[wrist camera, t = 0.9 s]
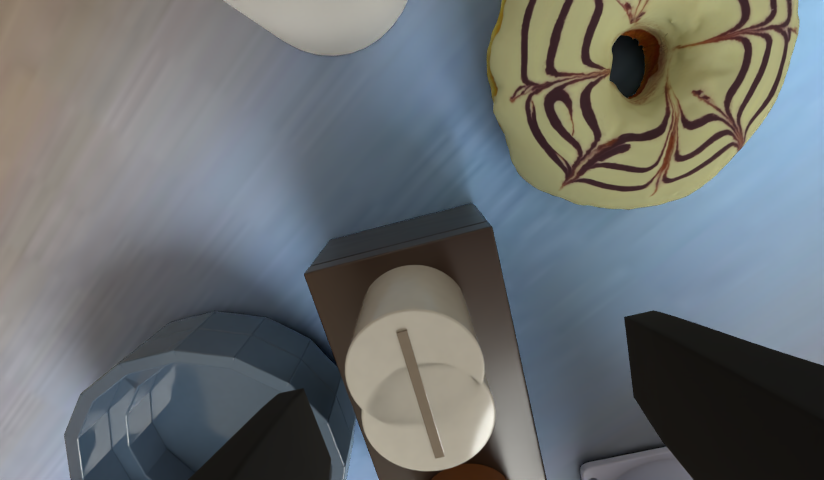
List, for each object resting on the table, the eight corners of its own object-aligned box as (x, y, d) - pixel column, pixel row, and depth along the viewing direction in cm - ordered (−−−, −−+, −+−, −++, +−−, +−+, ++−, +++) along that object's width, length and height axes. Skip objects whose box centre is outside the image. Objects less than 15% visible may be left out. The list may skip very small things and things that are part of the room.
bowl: (382, 473, 22) (376, 545, 18) (187, 513, 23) (142, 591, 19) (314, 282, 19) (288, 321, 15) (89, 338, 20) (11, 389, 16)
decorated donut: (497, 217, 18) (518, 240, 14) (460, -46, 15) (474, -101, 11) (729, 174, 17) (812, 186, 14) (737, -111, 14) (845, -191, 11)
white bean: (487, 382, 15) (509, 459, 12) (389, 404, 16) (382, 486, 12) (454, 252, 14) (468, 295, 10) (347, 279, 14) (325, 329, 10)
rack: (533, 469, 22) (562, 552, 18) (415, 493, 23) (415, 579, 18) (473, 202, 18) (492, 225, 13) (328, 239, 18) (302, 273, 14)
